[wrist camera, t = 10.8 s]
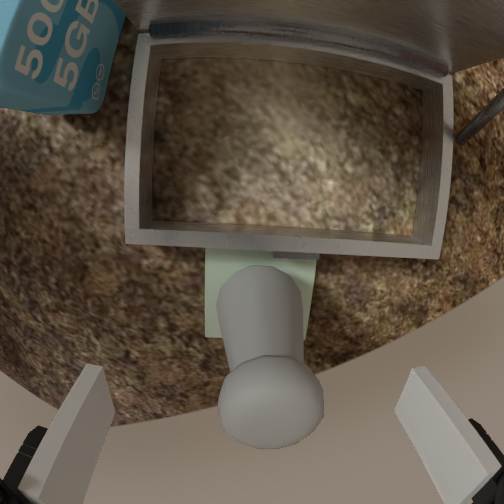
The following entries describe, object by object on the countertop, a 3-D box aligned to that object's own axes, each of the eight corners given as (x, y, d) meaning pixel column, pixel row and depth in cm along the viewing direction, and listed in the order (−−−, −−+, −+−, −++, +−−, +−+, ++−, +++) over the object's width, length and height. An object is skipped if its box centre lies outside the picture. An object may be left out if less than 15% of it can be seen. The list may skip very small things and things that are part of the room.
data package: (102, 116, 19) (-7, 88, 8) (55, 117, 19) (-56, 102, 7) (137, -15, 16) (82, -100, 4) (91, -9, 16) (21, -75, 4)
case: (139, 240, 22) (-20, 385, 5) (152, 37, 17) (33, -107, 1) (427, 255, 23) (583, 358, 6) (440, 76, 19) (603, 35, 2)
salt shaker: (231, 245, 22) (218, 351, 9) (307, 267, 22) (375, 380, 10) (210, 316, 23) (185, 454, 11) (281, 335, 24) (311, 471, 11)
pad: (205, 334, 24) (205, 337, 24) (206, 236, 22) (205, 237, 21) (304, 337, 24) (305, 340, 24) (317, 242, 22) (318, 243, 22)
